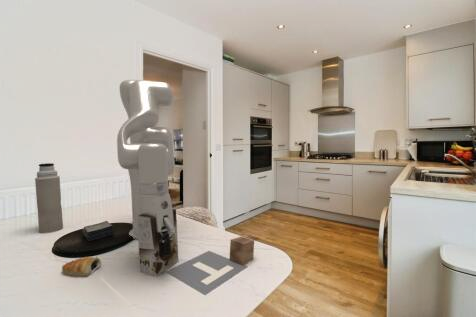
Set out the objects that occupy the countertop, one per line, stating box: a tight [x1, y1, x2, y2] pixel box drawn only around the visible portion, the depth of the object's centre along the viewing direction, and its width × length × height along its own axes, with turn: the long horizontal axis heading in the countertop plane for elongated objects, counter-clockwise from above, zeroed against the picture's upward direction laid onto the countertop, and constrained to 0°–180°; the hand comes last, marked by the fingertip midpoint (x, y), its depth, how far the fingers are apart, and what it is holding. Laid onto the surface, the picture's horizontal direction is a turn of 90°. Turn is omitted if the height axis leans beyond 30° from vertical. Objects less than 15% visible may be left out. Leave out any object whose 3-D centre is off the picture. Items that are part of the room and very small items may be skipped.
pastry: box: [61, 256, 102, 278], centre depth 67 cm, size 9×7×4 cm
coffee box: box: [137, 208, 179, 278], centre depth 67 cm, size 9×6×16 cm
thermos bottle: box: [34, 162, 64, 234], centre depth 99 cm, size 8×8×28 cm
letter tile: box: [165, 250, 248, 296], centre depth 66 cm, size 16×16×1 cm
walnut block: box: [228, 236, 255, 266], centre depth 71 cm, size 5×5×6 cm
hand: (157, 250), depth 67 cm, fingers closed on coffee box, 7 cm apart
